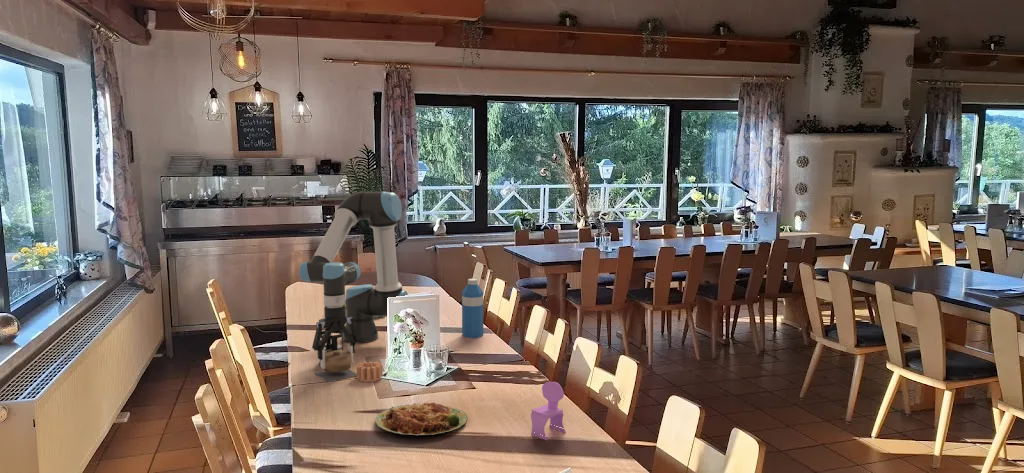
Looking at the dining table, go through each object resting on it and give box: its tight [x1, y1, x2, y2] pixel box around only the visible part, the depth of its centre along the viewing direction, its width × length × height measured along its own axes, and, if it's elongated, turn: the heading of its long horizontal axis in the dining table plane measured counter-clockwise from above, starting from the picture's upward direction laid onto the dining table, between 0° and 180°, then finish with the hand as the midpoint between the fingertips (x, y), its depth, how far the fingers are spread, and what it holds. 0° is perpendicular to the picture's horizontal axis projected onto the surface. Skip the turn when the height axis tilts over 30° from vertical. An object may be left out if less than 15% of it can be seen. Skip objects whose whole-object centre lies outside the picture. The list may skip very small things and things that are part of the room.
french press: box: [318, 317, 344, 366], centre depth 277 cm, size 12×9×23 cm
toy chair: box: [530, 381, 566, 441], centre depth 211 cm, size 8×9×15 cm
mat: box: [314, 368, 357, 383], centre depth 265 cm, size 12×12×1 cm
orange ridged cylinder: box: [356, 360, 384, 383], centre depth 261 cm, size 9×9×5 cm
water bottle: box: [461, 278, 484, 339], centre depth 319 cm, size 9×9×25 cm
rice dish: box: [374, 402, 468, 436], centre depth 220 cm, size 28×28×5 cm
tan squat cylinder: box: [322, 349, 352, 372], centre depth 265 cm, size 10×10×6 cm
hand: (337, 364), depth 265 cm, fingers closed on tan squat cylinder, 10 cm apart
